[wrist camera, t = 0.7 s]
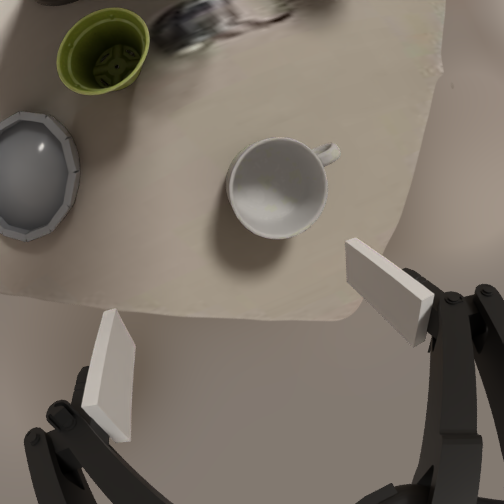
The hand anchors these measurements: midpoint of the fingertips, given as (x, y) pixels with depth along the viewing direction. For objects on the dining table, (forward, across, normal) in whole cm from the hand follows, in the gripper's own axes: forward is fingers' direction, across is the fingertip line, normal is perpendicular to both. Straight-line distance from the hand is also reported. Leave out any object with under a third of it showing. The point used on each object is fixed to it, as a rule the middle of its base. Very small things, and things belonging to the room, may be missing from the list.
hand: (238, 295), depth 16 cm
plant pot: (+24, -6, +19) cm, 31 cm away
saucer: (+23, -21, +10) cm, 33 cm away
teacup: (+23, +10, +1) cm, 25 cm away
